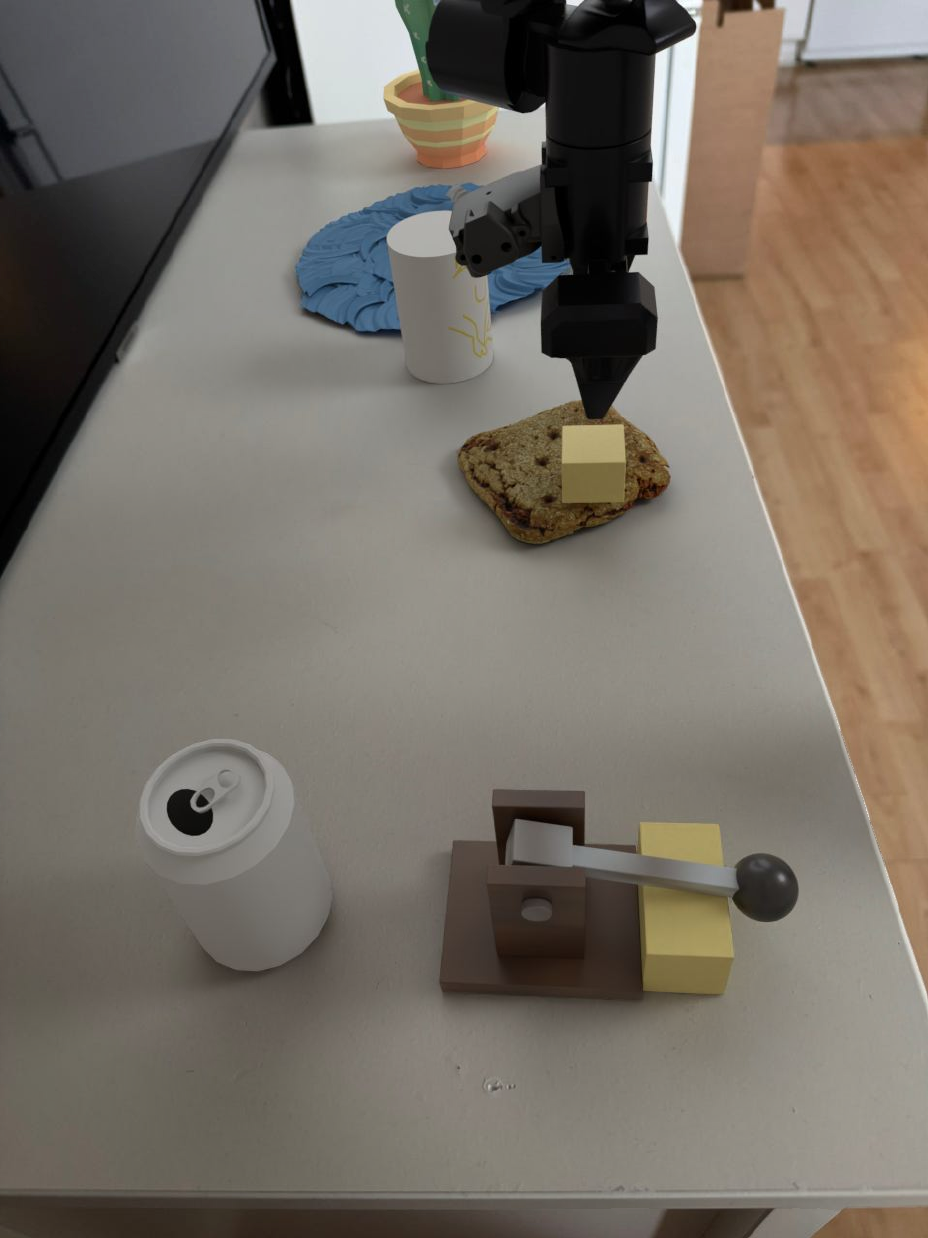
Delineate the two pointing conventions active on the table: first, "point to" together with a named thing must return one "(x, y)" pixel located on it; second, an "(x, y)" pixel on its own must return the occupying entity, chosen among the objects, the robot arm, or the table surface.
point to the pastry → (552, 473)
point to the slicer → (538, 914)
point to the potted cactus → (435, 104)
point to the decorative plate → (361, 271)
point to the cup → (438, 302)
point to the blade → (661, 870)
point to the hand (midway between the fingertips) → (594, 376)
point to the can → (234, 853)
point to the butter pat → (593, 463)
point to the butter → (683, 916)
